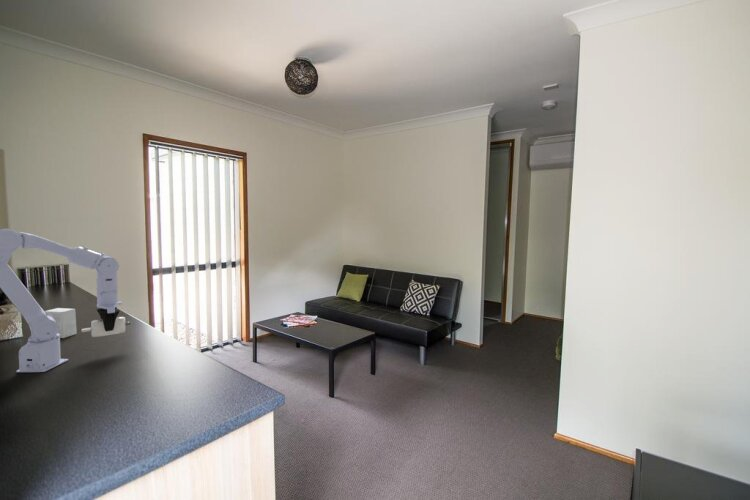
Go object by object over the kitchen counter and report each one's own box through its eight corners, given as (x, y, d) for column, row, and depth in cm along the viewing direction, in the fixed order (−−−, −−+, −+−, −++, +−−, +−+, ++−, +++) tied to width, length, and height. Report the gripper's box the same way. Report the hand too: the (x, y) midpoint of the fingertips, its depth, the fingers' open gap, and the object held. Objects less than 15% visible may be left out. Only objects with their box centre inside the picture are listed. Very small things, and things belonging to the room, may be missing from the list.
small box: (77, 334, 141) (76, 308, 140) (63, 338, 135) (62, 311, 135) (59, 333, 142) (58, 307, 141) (44, 337, 136) (43, 310, 135)
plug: (129, 329, 128) (128, 315, 127) (131, 331, 125) (130, 317, 125) (81, 336, 118) (81, 322, 118) (82, 339, 116) (82, 324, 115)
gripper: (125, 292, 119) (126, 331, 119) (117, 286, 129) (118, 322, 130) (99, 295, 114) (100, 336, 115) (93, 288, 124) (94, 326, 125)
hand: (108, 329), depth 122 cm, fingers closed on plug, 3 cm apart
